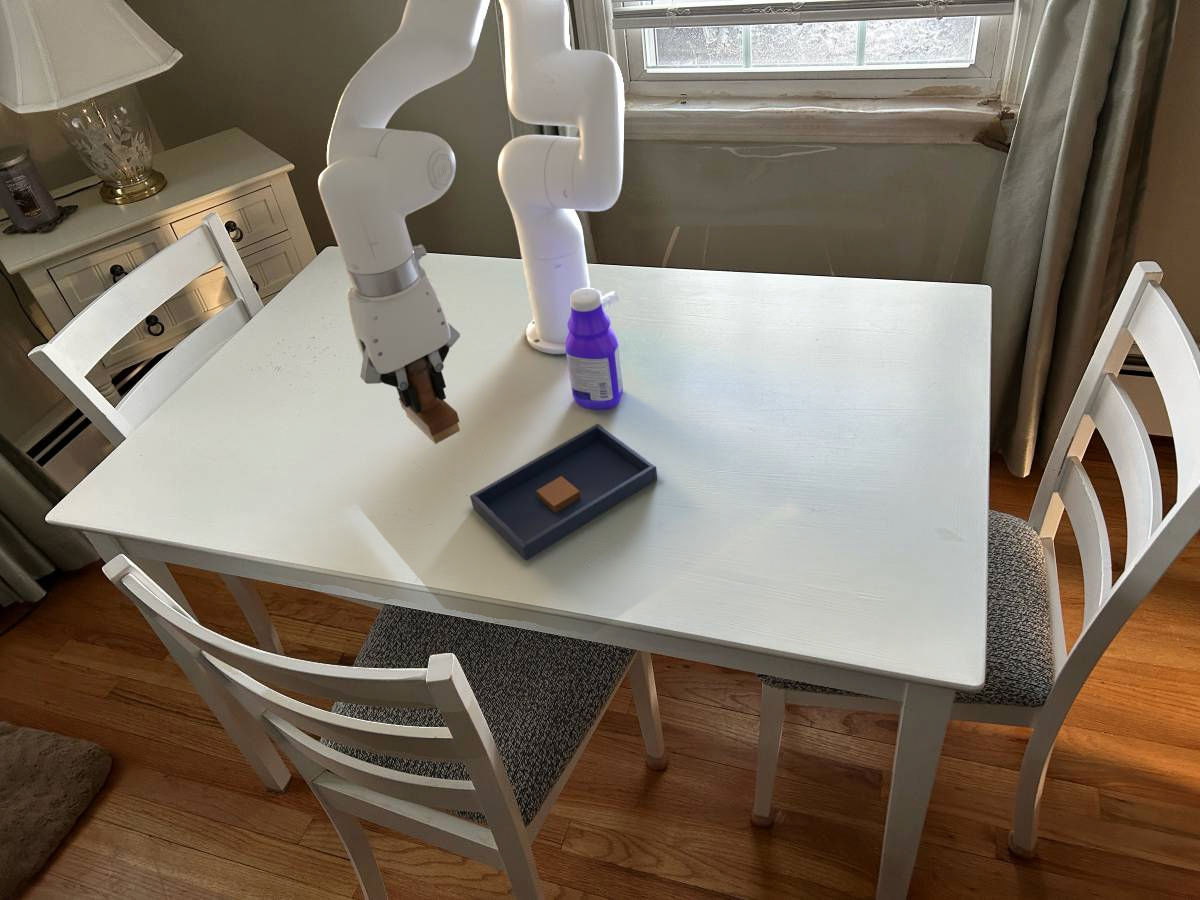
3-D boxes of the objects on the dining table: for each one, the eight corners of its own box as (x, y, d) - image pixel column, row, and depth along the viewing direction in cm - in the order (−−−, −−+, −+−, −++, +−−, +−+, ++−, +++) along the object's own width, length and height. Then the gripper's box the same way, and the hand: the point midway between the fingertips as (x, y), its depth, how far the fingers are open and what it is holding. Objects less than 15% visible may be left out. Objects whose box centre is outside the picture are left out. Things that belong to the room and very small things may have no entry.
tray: (600, 438, 123) (597, 423, 121) (657, 482, 115) (656, 466, 113) (474, 511, 115) (469, 495, 113) (526, 563, 107) (522, 547, 105)
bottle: (629, 391, 130) (617, 285, 119) (617, 415, 126) (603, 308, 115) (582, 386, 132) (565, 281, 121) (569, 409, 128) (550, 304, 117)
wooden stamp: (431, 402, 118) (409, 332, 111) (462, 430, 113) (441, 359, 105) (404, 416, 116) (380, 347, 109) (434, 446, 111) (411, 374, 104)
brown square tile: (562, 482, 116) (561, 475, 115) (581, 497, 113) (579, 490, 113) (537, 497, 114) (535, 490, 114) (555, 513, 112) (553, 506, 111)
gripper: (431, 233, 106) (466, 360, 118) (303, 289, 99) (354, 418, 111) (463, 254, 101) (496, 384, 113) (331, 315, 94) (381, 446, 107)
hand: (425, 400), depth 112 cm, fingers closed on wooden stamp, 2 cm apart
